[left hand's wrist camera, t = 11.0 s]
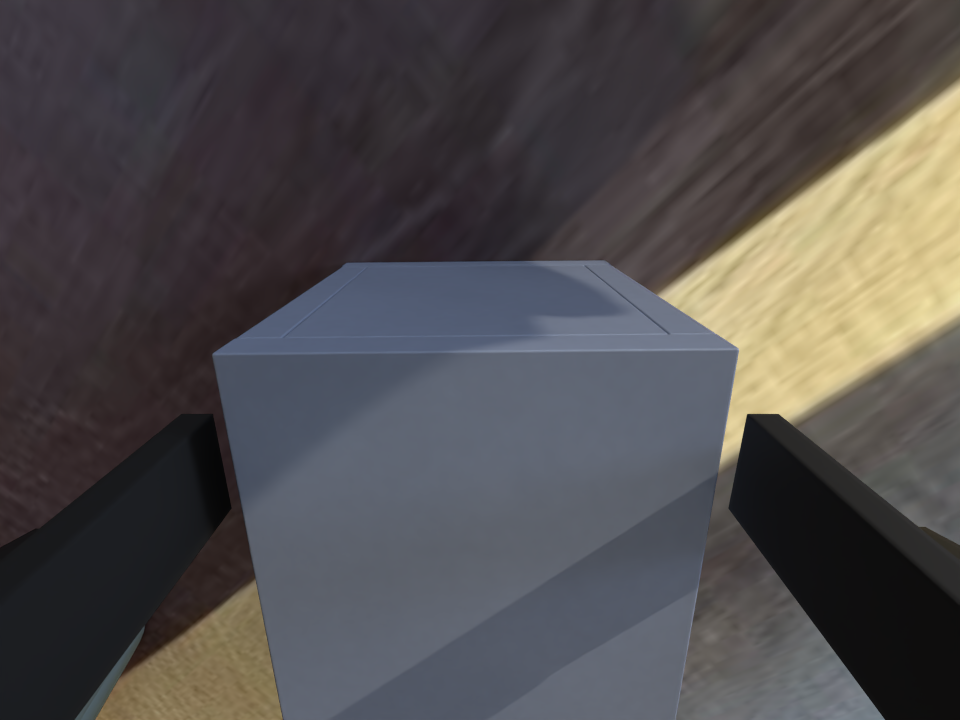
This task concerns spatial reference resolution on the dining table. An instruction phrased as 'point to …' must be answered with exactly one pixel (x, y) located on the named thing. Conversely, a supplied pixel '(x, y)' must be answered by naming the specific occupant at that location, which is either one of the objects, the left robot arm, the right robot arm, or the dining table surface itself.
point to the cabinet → (477, 489)
